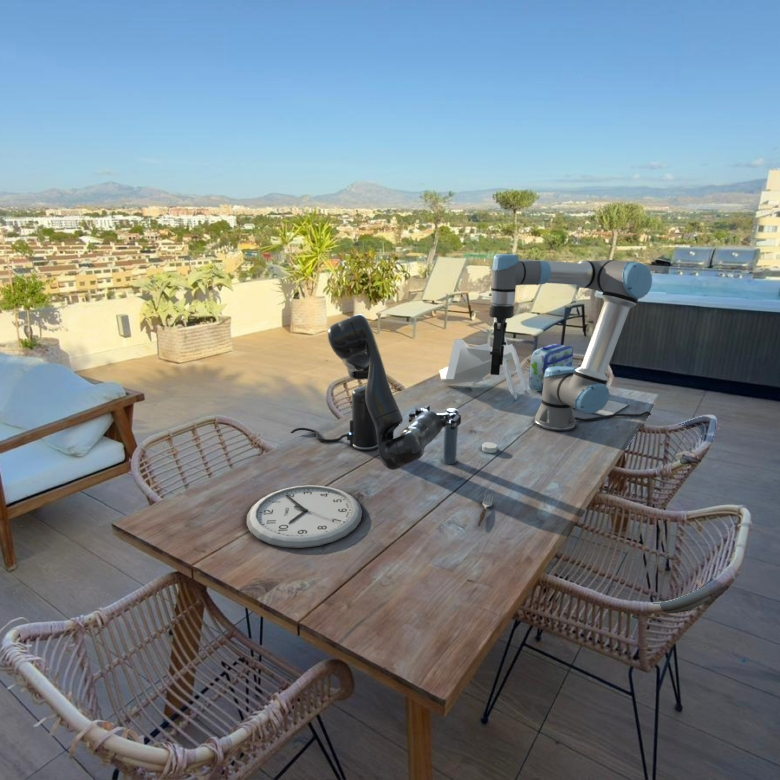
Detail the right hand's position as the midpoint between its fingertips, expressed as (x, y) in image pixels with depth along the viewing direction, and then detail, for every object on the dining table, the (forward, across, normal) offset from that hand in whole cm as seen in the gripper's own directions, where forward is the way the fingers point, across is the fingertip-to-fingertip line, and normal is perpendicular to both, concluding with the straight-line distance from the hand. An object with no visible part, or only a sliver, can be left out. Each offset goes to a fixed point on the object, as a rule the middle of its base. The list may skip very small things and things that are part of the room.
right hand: (496, 369), depth 172 cm
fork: (+29, +43, +2) cm, 52 cm away
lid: (+27, 0, 0) cm, 27 cm away
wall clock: (+29, +58, -43) cm, 78 cm away
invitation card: (+29, -61, +42) cm, 80 cm away
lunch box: (+29, -82, +20) cm, 89 cm away
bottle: (+29, +14, -12) cm, 34 cm away
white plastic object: (+29, -65, -11) cm, 72 cm away
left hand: (+8, +24, -13) cm, 29 cm away
